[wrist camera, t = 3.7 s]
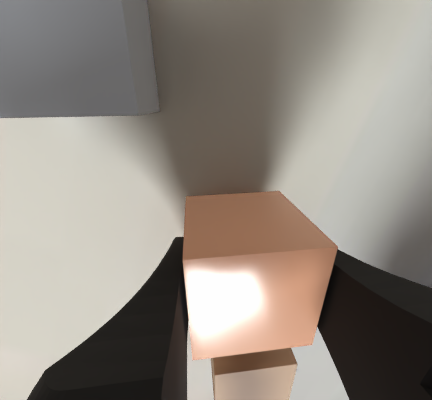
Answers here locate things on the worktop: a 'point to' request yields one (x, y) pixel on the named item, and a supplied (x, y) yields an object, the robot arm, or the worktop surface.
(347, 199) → the worktop surface
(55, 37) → the slate cube
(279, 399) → the walnut cube
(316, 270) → the terracotta cube
